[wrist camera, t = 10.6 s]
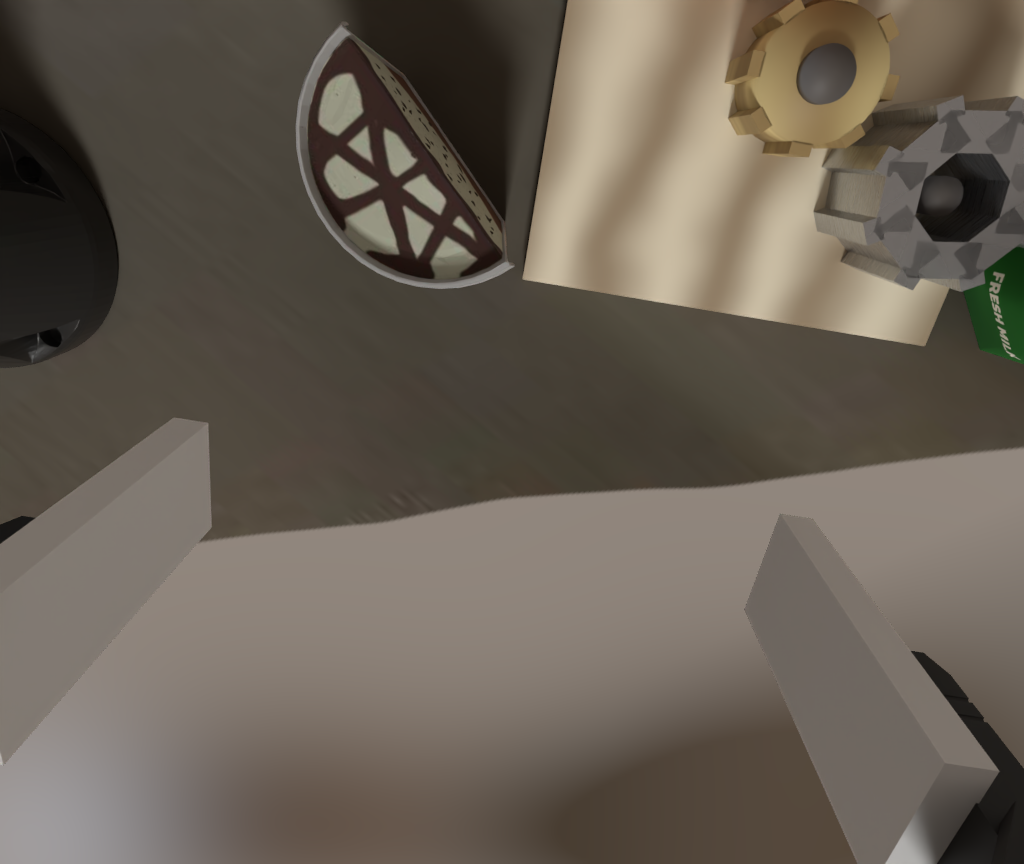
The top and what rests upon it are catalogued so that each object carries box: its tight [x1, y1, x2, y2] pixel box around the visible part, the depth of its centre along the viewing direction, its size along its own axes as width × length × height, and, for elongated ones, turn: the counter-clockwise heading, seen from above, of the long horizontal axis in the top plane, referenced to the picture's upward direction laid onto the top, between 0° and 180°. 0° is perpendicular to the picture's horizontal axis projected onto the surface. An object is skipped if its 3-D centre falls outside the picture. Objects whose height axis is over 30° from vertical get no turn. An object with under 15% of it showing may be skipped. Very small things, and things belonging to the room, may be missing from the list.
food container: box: [296, 22, 515, 289], centre depth 33 cm, size 12×6×10 cm, turn 35°
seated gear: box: [813, 95, 1024, 292], centre depth 32 cm, size 8×8×6 cm
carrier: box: [523, 0, 1024, 346], centre depth 32 cm, size 24×24×6 cm
